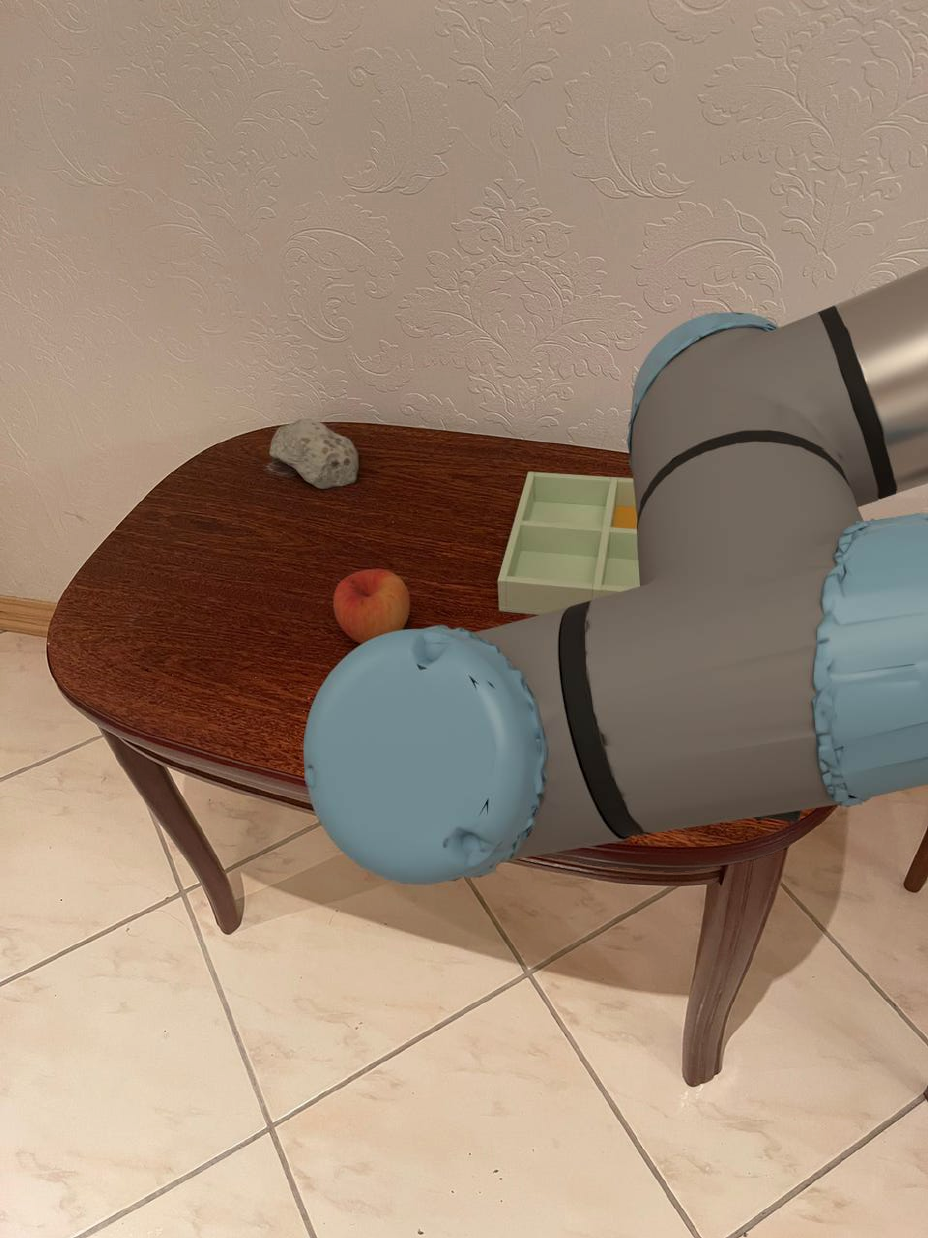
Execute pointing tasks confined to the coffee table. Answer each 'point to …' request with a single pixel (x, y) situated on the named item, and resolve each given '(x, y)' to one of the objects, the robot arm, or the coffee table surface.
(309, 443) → the decorative stone
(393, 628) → the apple
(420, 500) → the coffee table surface
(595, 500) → the grid
